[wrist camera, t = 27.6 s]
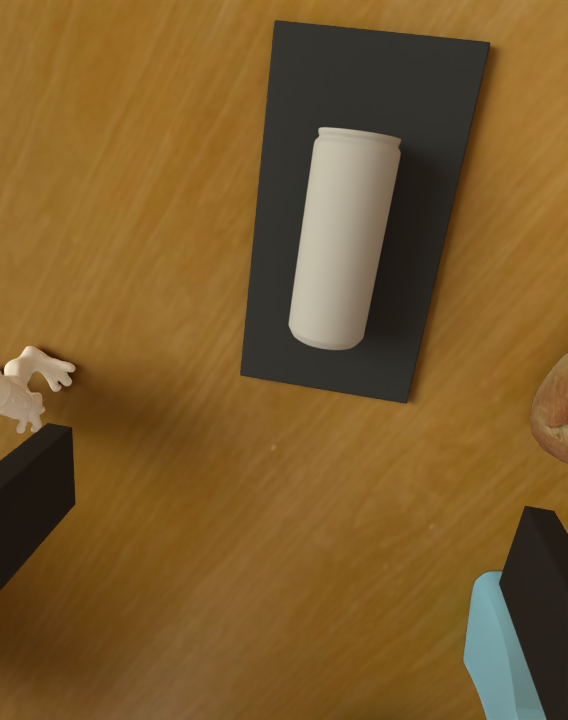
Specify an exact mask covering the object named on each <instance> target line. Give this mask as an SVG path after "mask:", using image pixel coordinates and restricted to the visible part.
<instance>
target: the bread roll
mask: <svg viewBox="0 0 568 720" xmlns="http://www.w3.org/2000/svg"><path fill="white" fill-rule="evenodd" d="M530 423H531V428H532V432H533V435H534V437H535V439H536V441H537V442H538V443H539V445H540V446H541V447H542V448H543V449H544V450H545V451H547V452H548V453H550V454H551V455H553V456H554V457H556V458H558V459H560V460H561V461H563V462H565V463H567V464H568V352H567V353H566V354H565V355H564V356H563V357H562V358H561V359H560V360H559V361H558V362H557V363H556V365H555V366H554V367H553V368H552V370H551V371H550V372H549V373H548V375H547V376H546V378H545V380H544V381H543V382H542V384H541V385H540V387H539V389H538V391H537V393H536V395H535V398H534V400H533V403H532V409H531V417H530Z"/></svg>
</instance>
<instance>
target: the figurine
mask: <svg viewBox="0 0 568 720" xmlns="http://www.w3.org/2000/svg"><path fill="white" fill-rule="evenodd" d="M34 371H38V372H41V373H42V374H43V375H44V376H45V378H46V379H47V381H48V383H49V385H50V388H51V389H52V390H53V391H54V392H58V391H59V390H60V389H61V388H62V386H61V385H60V384H58V381H60V382H61V383H62V384H63V385H65V386H70V385H71V383H72V380H71V378H70V377H69V376H68V373H67V372H74V371H75V366H74V365H73V364H71V363H69V362H65V361H61V360H58V359H55V358H51V357H49V356H47V355H46V354H45V353H44V352H42V351H41V350H39V349H37V348H36V347H33V346H27V347H26V348H25V350H24V351H23V353H22V354H21V356H20V357H19V358H16V359H13V360H11V361H9V362H8V363H7V364H6V365H5V368H4V375H2V373H1V371H0V414H1V415H5V416H7V417H10V418H12V419H19V421H20V423H19V424H18V426H17V428H16V431H17V432H18V433H23V432H24V431H25V429H26V425H27V423H28V421H29V422H31V423H32V424H33V426H32V427H31V431H32V432H37V431H38V430H39V429H40V428H41V426H42V422H41V421H40V417H39V415H40V414H42V413H43V412H44V411H45V407H44V406H42V395H41V394H40V393H38V392H37V393H36V392H34V393H32V392H30V391H29V388H28V387H27V384H28V382H29V380H30V378H31V375H32V374H33V372H34Z"/></svg>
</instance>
